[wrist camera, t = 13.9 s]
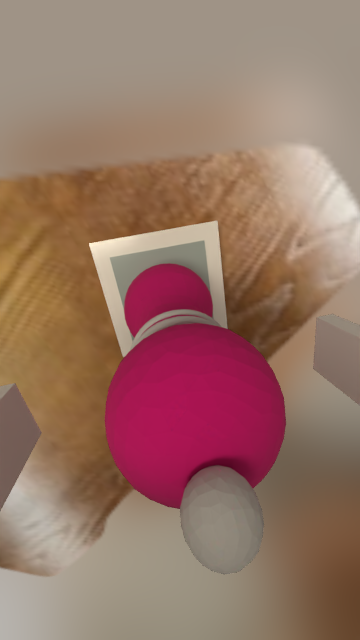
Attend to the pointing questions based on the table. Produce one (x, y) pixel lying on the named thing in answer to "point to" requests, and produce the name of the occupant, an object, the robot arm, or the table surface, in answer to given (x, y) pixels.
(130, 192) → the table surface
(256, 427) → the pepper mill
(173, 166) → the table surface
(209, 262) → the base
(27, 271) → the table surface
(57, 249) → the table surface
